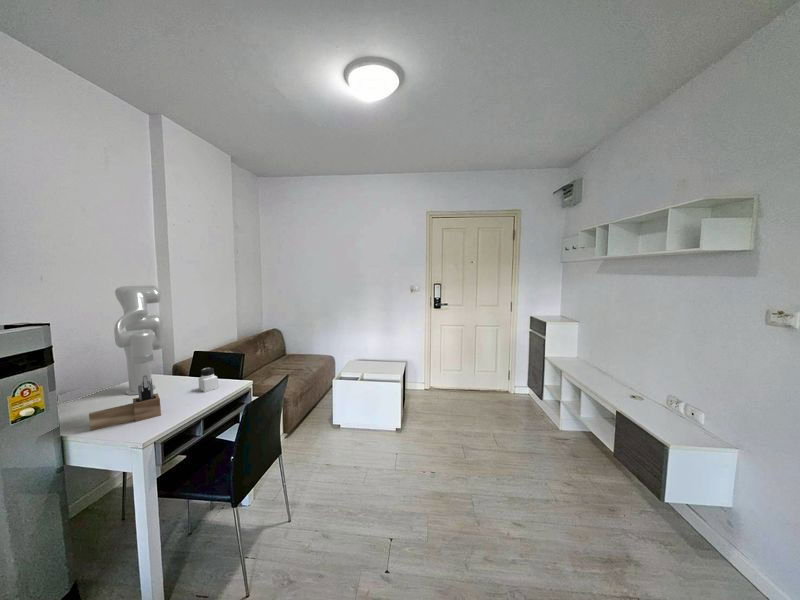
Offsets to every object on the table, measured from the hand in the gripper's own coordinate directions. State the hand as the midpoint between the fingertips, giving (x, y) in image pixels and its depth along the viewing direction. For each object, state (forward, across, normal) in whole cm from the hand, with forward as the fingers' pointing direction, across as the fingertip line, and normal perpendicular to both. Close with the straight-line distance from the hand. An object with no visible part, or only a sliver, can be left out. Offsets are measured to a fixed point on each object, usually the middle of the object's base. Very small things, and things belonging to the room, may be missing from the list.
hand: (146, 397), depth 138 cm
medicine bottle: (+9, -17, +28) cm, 34 cm away
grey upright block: (+4, 0, 0) cm, 4 cm away
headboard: (+9, 0, -7) cm, 11 cm away
